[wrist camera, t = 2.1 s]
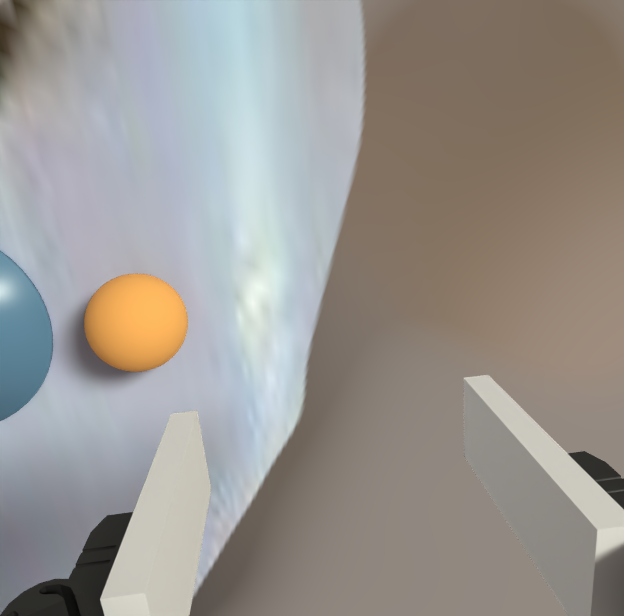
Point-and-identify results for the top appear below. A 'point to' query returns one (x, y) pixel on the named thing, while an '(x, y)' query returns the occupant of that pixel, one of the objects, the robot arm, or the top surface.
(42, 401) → the top surface
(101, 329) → the ball
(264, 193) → the top surface
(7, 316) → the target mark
